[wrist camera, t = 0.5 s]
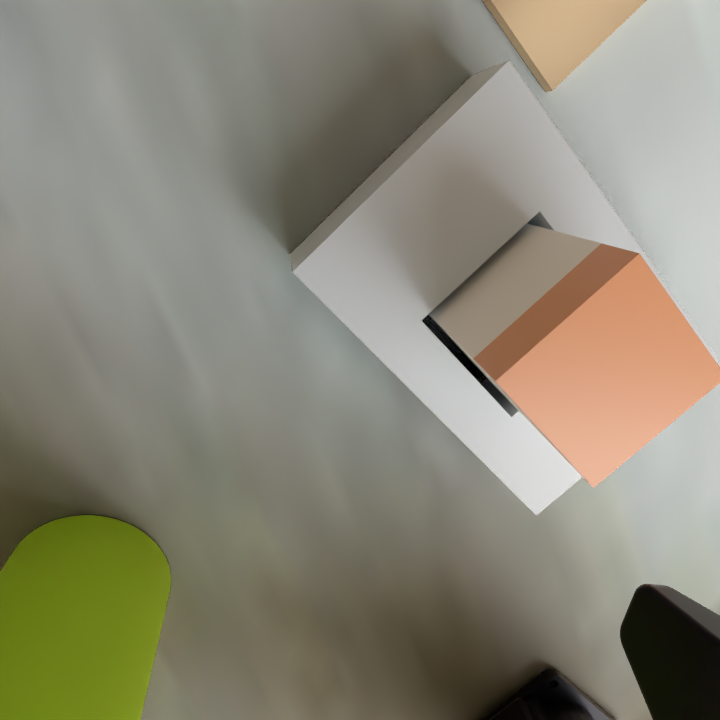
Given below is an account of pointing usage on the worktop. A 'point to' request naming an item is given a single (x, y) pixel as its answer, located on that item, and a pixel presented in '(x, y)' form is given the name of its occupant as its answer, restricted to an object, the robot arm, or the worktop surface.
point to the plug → (580, 344)
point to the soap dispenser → (80, 621)
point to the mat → (558, 31)
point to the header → (459, 256)
